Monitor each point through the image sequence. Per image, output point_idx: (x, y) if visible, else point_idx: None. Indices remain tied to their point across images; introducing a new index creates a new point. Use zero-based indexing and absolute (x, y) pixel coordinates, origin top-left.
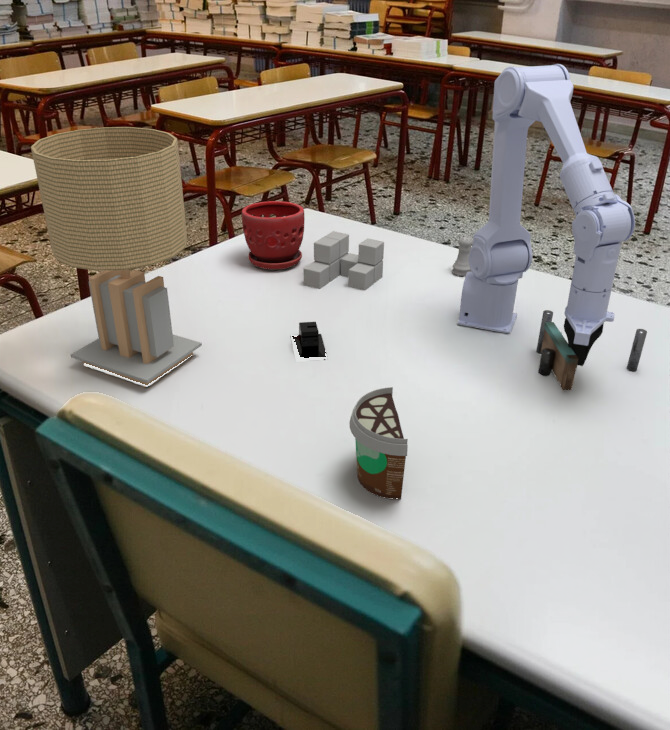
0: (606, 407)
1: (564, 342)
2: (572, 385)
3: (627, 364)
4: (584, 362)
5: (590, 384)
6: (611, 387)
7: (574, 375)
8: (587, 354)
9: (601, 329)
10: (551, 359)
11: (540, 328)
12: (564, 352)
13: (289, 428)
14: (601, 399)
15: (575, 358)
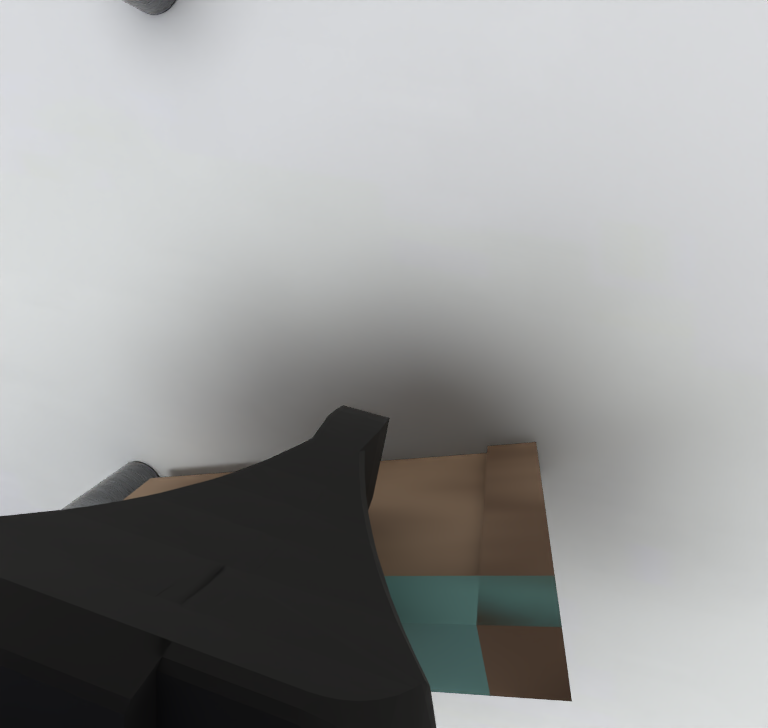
0: (688, 240)
1: None
2: (538, 460)
3: (130, 3)
4: (381, 424)
5: (405, 295)
6: (419, 162)
7: (543, 506)
8: (362, 455)
9: (218, 707)
10: None
11: None
12: (432, 685)
13: None
14: (582, 257)
15: (560, 652)
